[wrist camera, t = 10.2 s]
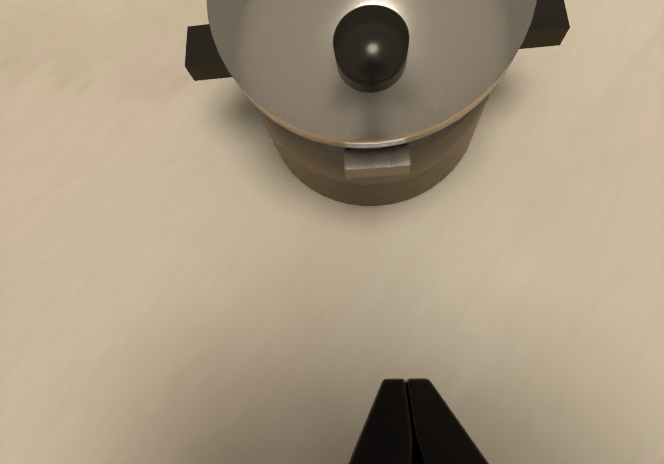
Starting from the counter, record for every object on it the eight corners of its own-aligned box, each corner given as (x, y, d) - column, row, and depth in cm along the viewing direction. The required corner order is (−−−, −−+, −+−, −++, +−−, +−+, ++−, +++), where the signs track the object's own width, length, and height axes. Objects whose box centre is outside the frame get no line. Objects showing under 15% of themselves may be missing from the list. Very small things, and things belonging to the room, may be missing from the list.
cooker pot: (537, 210, 21) (607, 143, 15) (230, 229, 23) (167, 176, 16) (502, 12, 25) (547, -116, 18) (236, 40, 26) (187, -69, 20)
